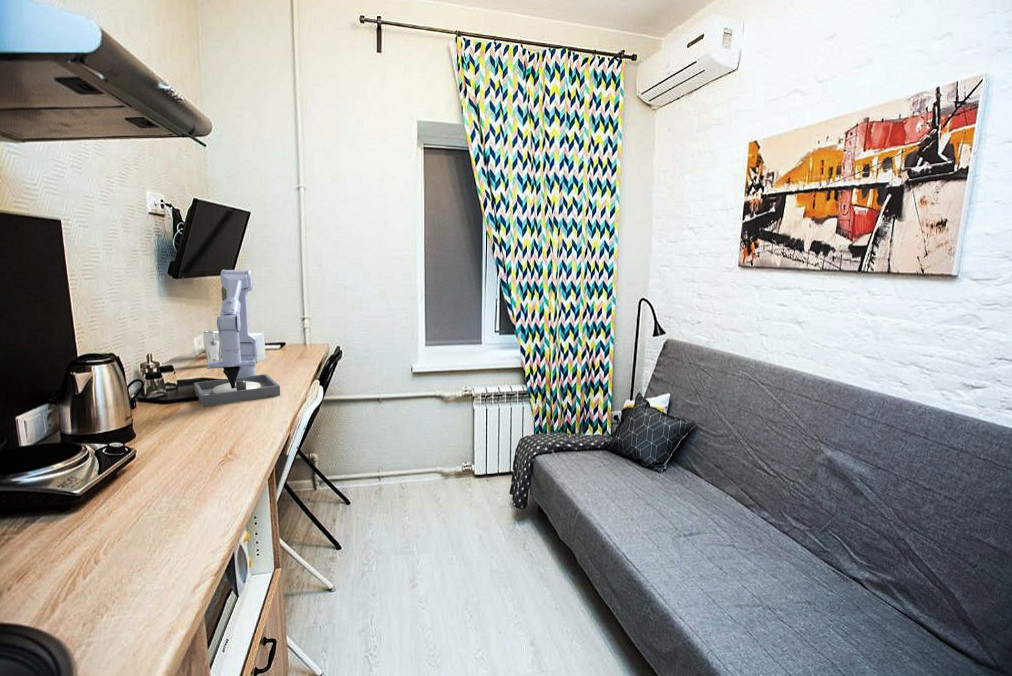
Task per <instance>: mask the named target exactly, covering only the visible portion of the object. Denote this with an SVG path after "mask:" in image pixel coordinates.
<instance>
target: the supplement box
mask: <svg viewBox="0 0 1012 676" xmlns="http://www.w3.org/2000/svg"><path fill="white" fill-rule="evenodd" d="M249 333H250V334H251V335H253V336H255V337H256V339H257V343H258V356H257V357H255V361H256V364H257V363H260V362H262V361H266V360H267V359H266V358H267V357H266V356H267V355H266V342H265V333H260V332H259V333H258V332H249ZM242 342H250V341H242Z"/></svg>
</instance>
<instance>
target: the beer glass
mask: <svg viewBox="0 0 1012 676" xmlns="http://www.w3.org/2000/svg"><path fill="white" fill-rule="evenodd" d="M202 338H203V339H202V340H203V347H204V350H205V353H206V359H207V360H206V364H207V363H210V362H220V361H222V356H221V342H220V337H219V333H218V330H205V331H203V337H202Z"/></svg>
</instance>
